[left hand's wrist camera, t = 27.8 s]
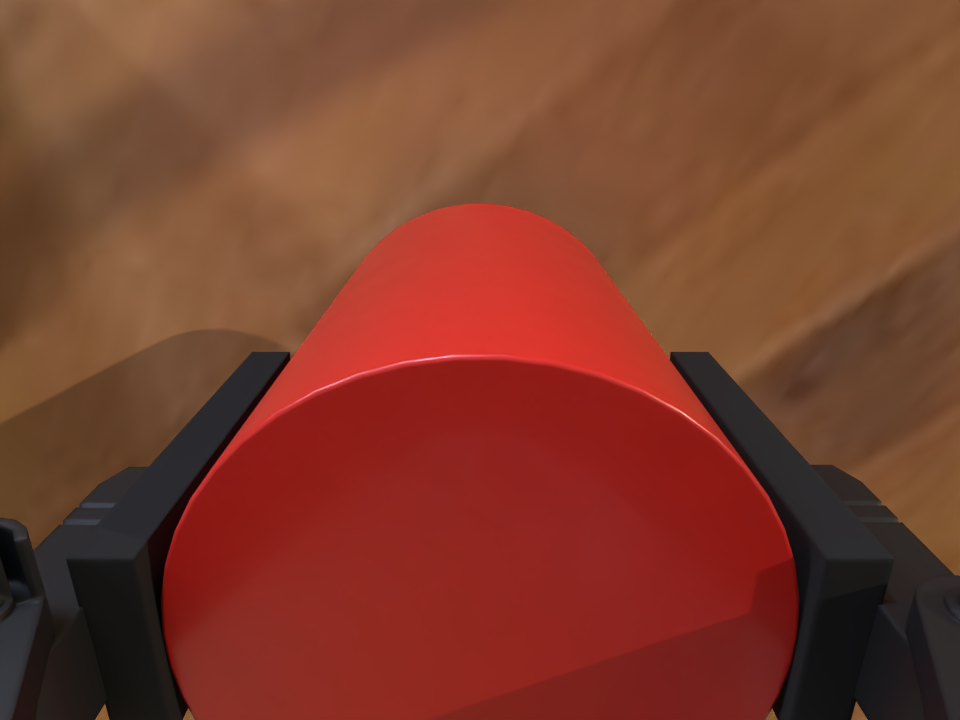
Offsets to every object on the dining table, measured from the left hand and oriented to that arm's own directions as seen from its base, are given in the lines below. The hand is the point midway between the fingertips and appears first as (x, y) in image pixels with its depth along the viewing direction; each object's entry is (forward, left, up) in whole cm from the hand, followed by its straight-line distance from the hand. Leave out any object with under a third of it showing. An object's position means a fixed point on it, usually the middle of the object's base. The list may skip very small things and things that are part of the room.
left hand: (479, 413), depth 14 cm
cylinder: (0, 0, -4) cm, 4 cm away
